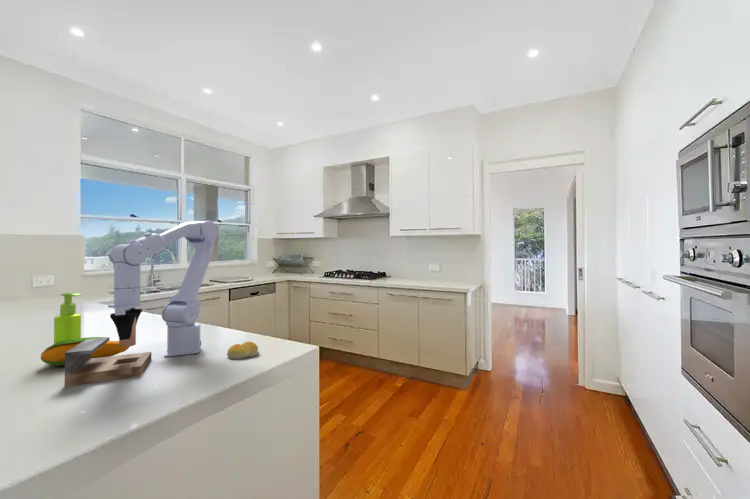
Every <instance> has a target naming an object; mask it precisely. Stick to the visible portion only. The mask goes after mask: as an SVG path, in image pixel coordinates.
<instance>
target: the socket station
mask: <svg viewBox="0 0 750 499" xmlns="http://www.w3.org/2000/svg"><path fill="white" fill-rule="evenodd" d="M110 339H111V337H109V336H106V338H95V339H87V340H85V341H83V342H82V343H80V344H78V345H77V346H75V347H74V348H72V349H70V350H69V351H67V352H66V353H65V366H64V386H63V387H70V386H78V385H85V384H92V383H99V382H107V381H113V380H120V379H127V378H135V377H142V375H143V373H145V372H144V371H145V370H146V369H147V367H148V366H149V365H150V363H151V362H152V351H147V352H146V351H145V352H137V353H126V354H120V355H118V354H117V355H114V356H109V357H100V358H92V359H91V353H93V352H94V351H95V350H97V349H98V348H99V347H101V346H102V345H103V344H105V343H106V342H107V341H110Z"/></svg>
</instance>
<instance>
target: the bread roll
mask: <svg viewBox="0 0 750 499" xmlns="http://www.w3.org/2000/svg"><path fill="white" fill-rule="evenodd" d="M258 354H260V352H259V347H258V345H257V344H256V343H255V342H253V341H245V342H243V343H242V344H240V343H236V344H235V343H234V344H233V345H231V346H230V347H229V348H228V349H227V352H226V355H227V358H228V359H233V360H242V359H243V358H244V359H247V358H252V356H253V357H256V356H257V355H258ZM255 355H256V356H255ZM244 359H243V360H244Z"/></svg>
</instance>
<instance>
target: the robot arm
mask: <svg viewBox="0 0 750 499" xmlns="http://www.w3.org/2000/svg"><path fill="white" fill-rule="evenodd" d="M218 234H219V232H218V228H217V226H216V224H215V223H214V222H213V221H212V220H204V221H185V222H183V223H182V222H181V223H180V224H177V225H176V226H174V227H172V228H170V229H167V230H166V231H163V232H162V233H160V234H159V233H155V232H152V233H151V232H146V233H143V236H142V237H139V238H137V239H130V240H128V243H126V244H124V243H123V244H122V243H121V244H117V245H115V246H113V248H112V249H111V251H110V253H109V254H108V255H107V256H108V260H109V261H110V262H111V263H112V265H113V268H112V269H113V271H114V272H113V303H110V304H108V305H107V308H110V309H111V308H113V309H114V313H110V315H109V316H110V319H111V320H112V321H113V323H114V325H115V328H116V332H117V336H118V340H119V339H120V340H125V339H130V336H131V332H132V326H133V322H134V320H135V317H136V325H137V323H138V320H139V319H140V316H141V313H142V312H143V308H138V307H141V306H142V303H141V264H143V263H144V262H145V261H146V258H149V257H151V256H153V255H155V254H158V253H159V252H161V251H164V249H165V248H166V245H167V244H170V243H172V242H174V241H177V240H179V239H182V238H185V240H186V241H187V242H188V243H189V245H190V246H191V247H192V248H193V249H194V253H193V255H192V258H191V260H190V262H189V265H188V268H187V269H186V273H185V275H184V278H183V281H182V282H181V286H180V287H179V290H178V292H177V294H175V295H174V296H172V297H171V298H169V301H168V303H167V304H166V305H165V306H164V307H162V308H163V309H162V310H161V319H162V320H163V322H165V326H167V327H166V328H167V333H166V334H167V336H166V337H167V342H166V344H167V345H166V351H165V353H164V355H163V357H164V358H167V357H168V358H169V357H174V356H177V357H178V356H183V355H191V354H199V353H200V351H201V347H202V340H201V323H196V321H198V319H199V316H200V307H201V302H200V300H199V298H197V297H198V294H199V291H200V289H201V285H202V283H203V281H204V278H205V275H206V273H207V270H208V267H209V264H210V261H211V259H212V256H213V253H214V251H215V242H216V239H217V237H218Z"/></svg>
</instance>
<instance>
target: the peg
mask: <svg viewBox="0 0 750 499" xmlns="http://www.w3.org/2000/svg"><path fill="white" fill-rule="evenodd" d="M136 338H137V324H136V317H135V320H134V322H133V326H132V332H131V336H130V339H125V340H120V339H119V338H118V341H119V347H129V348H130V347H132V346H133V347H134V346H136V345H137V339H136Z"/></svg>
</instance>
